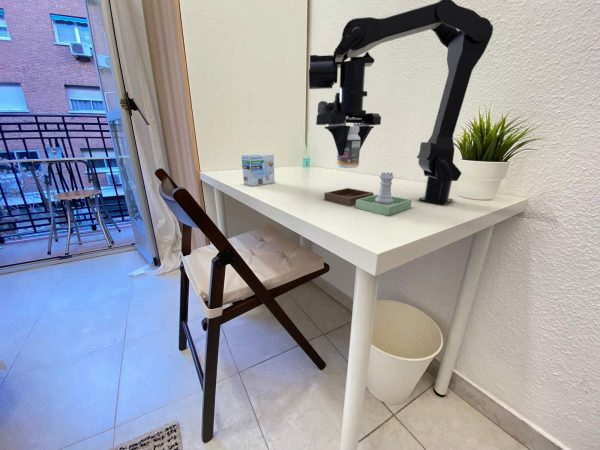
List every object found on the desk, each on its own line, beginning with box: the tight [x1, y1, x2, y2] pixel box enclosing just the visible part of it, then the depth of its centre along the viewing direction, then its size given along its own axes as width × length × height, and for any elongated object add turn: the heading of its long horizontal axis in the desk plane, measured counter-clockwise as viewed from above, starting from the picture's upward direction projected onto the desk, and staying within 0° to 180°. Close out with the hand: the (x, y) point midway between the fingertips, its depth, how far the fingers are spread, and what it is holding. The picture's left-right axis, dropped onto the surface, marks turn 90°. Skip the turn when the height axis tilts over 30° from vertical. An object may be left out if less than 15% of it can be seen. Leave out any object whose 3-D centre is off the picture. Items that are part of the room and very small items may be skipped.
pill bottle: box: [336, 125, 361, 169], centre depth 63 cm, size 6×6×10 cm
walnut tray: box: [323, 187, 374, 207], centre depth 69 cm, size 10×9×2 cm
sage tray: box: [355, 193, 413, 216], centre depth 61 cm, size 10×9×2 cm
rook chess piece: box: [375, 171, 395, 206], centre depth 60 cm, size 4×4×8 cm
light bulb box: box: [240, 153, 276, 187], centre depth 93 cm, size 11×7×11 cm, turn 132°
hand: (348, 155), depth 64 cm, fingers closed on pill bottle, 6 cm apart
